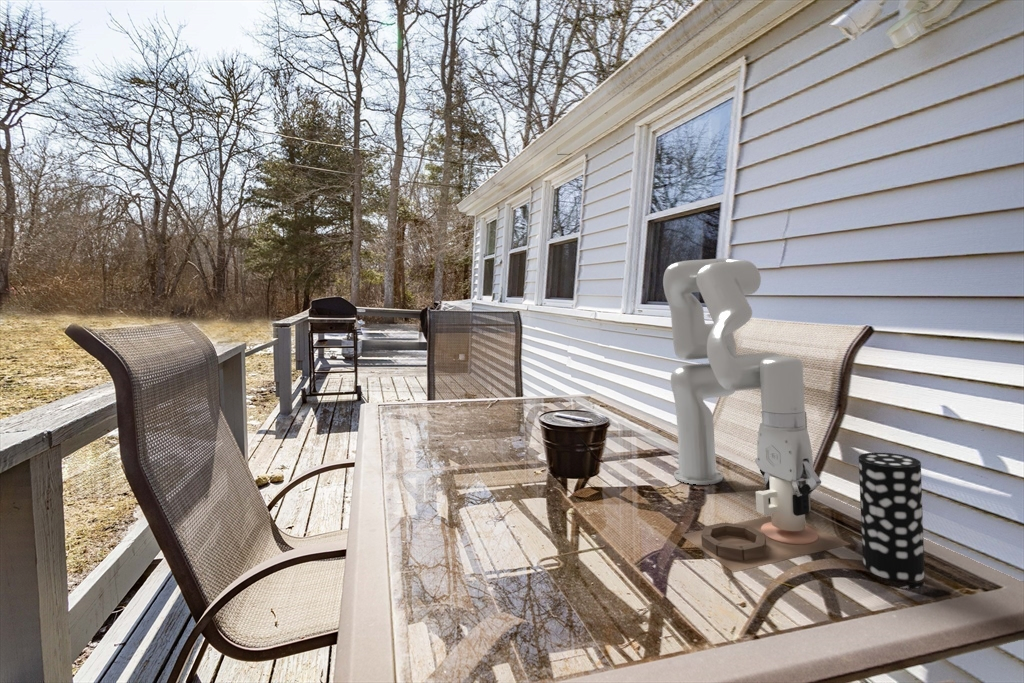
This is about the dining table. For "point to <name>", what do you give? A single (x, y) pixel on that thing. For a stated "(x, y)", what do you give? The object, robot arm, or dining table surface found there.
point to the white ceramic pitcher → (780, 505)
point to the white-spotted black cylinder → (892, 517)
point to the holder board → (759, 543)
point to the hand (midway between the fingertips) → (787, 507)
